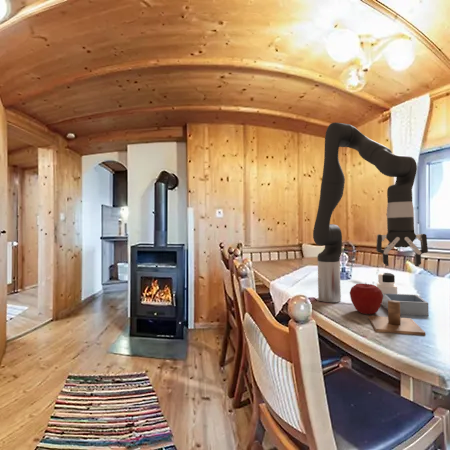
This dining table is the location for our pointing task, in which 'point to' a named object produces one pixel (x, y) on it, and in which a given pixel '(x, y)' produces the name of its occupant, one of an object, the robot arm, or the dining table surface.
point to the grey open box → (408, 303)
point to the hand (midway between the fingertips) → (401, 265)
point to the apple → (366, 298)
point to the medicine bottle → (387, 283)
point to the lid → (395, 321)
